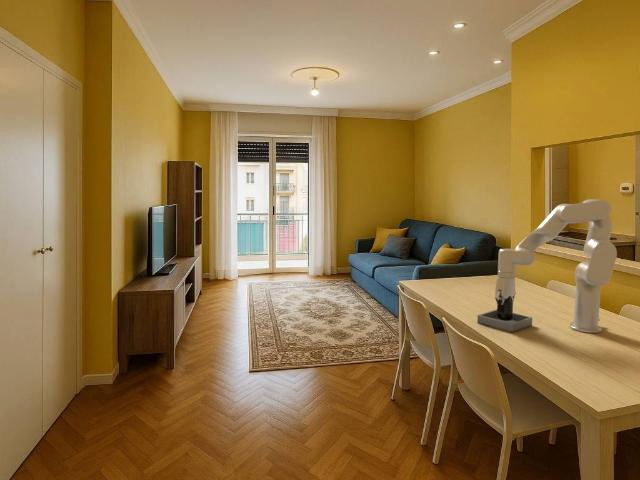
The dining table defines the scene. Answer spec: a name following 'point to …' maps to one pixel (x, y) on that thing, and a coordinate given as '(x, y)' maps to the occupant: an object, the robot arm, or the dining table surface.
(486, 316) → the tray
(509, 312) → the supplement bottle
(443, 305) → the dining table surface
